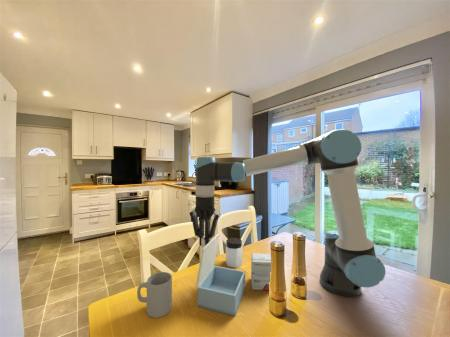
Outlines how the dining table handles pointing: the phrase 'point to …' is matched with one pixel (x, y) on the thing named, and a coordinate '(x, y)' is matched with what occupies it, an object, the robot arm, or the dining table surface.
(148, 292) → the mug
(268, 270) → the ink box
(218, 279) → the blue lidded box
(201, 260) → the lid
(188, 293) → the dining table surface
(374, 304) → the dining table surface
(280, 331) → the dining table surface
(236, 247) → the jar
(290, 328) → the dining table surface
